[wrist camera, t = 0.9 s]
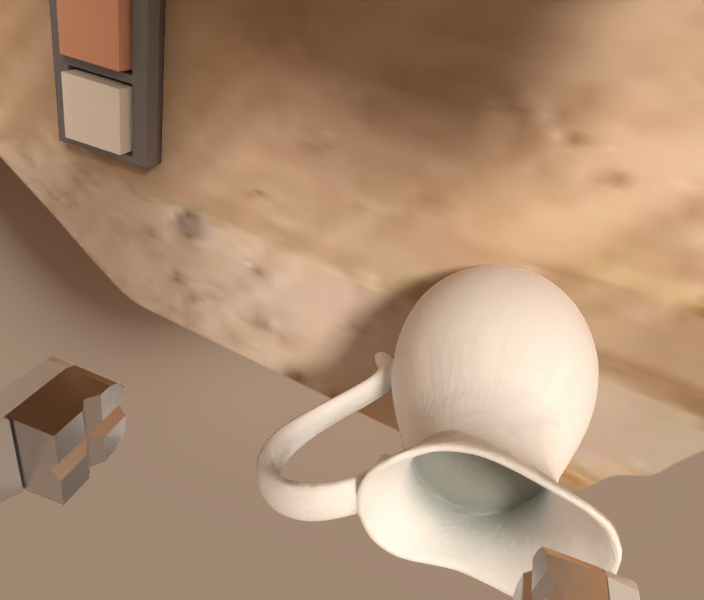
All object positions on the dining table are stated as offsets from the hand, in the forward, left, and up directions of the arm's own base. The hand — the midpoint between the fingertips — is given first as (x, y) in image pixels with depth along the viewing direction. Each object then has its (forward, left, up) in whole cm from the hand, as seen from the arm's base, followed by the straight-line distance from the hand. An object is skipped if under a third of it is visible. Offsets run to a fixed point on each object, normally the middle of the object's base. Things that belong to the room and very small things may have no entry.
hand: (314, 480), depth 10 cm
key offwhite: (+10, -37, -41) cm, 56 cm away
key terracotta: (+2, -37, -41) cm, 55 cm away
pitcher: (+20, +4, -43) cm, 48 cm away
